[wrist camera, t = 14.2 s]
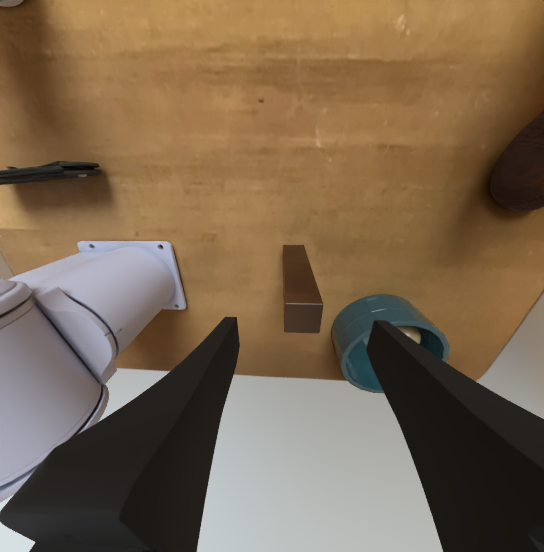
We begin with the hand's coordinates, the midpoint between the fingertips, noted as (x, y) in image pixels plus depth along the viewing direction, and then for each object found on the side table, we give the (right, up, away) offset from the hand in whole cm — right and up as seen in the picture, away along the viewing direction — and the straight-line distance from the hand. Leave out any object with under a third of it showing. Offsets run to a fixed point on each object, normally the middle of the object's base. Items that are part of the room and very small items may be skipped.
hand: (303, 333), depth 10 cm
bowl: (+11, -3, +13) cm, 17 cm away
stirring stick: (0, +5, +9) cm, 10 cm away
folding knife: (-21, +12, +7) cm, 25 cm away
